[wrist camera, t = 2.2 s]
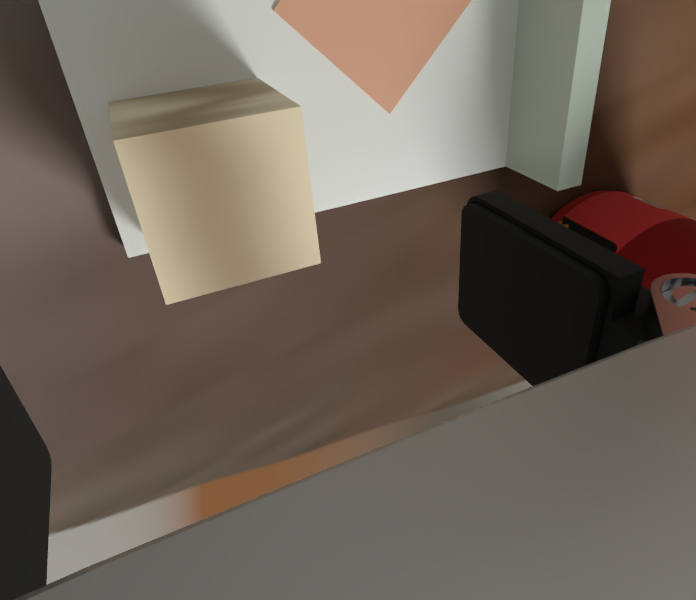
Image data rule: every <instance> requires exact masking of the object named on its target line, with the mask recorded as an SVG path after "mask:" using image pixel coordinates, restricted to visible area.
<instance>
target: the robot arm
mask: <svg viewBox="0 0 696 600" xmlns="http://www.w3.org/2000/svg"><path fill="white" fill-rule="evenodd" d="M644 273H645V268H643V267H641V266H639V265H637V264H635V263H633V262H631V261H630V260H628V259H626V258H624V257H622V256H620V255H618V254H616V253H614V252H612V251H611V250H609V249H607V248H605V247H603V246H601V245H599V244H597V243H595V242H594V241H592V240H590V239H588V238H586V237H584V236H582V235H580V234H578V233H576V232H575V231H573V230H571V229H569V228H567V227H565V226H563V225H561V224H559V223H558V222H556V221H554V220H552V219H550V218H548V217H546V216H544V215H542V214H540V213H539V212H537V211H535V210H533V209H531V208H529V207H527V206H525V205H523V204H522V203H520V202H518V201H516V200H514V199H512V198H510V197H508V196H506V195H504V194H503V193H501V192H498V191H492V192H489V193H485V194H481V195H478V196H474V197H471V198H470V199H469V201H468V203H467V205H466V206H465V207H464V208H463V210H462V220H461V247H460V274H459V301H458V311H459V315H460V317H461V319H462V321H463V322H464V324H465V325H466V326H468V327H469V328H470V329H471V330H472V331H473V332H474V333H475V334H476V335H477V336H478V337H480V338H481V339H482V340H483V341H484V342H485V343H486V344H487V345H488V346H489V347H491V348H492V349H493V350H494V351H495V352H496V353H497V354H498V355H499V356H500V357H501V358H503V359H504V360H505V361H506V362H507V363H508V364H509V365H510V366H511V367H512V368H514V369H515V370H516V371H517V372H518V373H519V374H520V375H521V376H522V377H523V378H524V379H526V380H527V381H528V382H529V383H530V384H531V385H532V386H533V387H530V388H528V389H525V390H523V391H520V392H517V393H515V394H512V395H510V396H507V397H505V398H502V399H500V400H497V401H495V402H492V403H490V404H487V405H485V406H482V407H480V408H477V409H475V410H472V411H470V412H467V413H465V414H462V415H460V416H457V417H455V418H452V419H450V420H447V421H445V422H442V423H440V424H437V425H435V426H432V427H430V428H427V429H425V430H423V431H420V432H417V433H415V434H412V435H410V436H407V437H405V438H402V439H400V440H398V441H395V442H393V443H390V444H388V445H385V446H383V447H380V448H378V449H375V450H373V451H370V452H368V453H365V454H363V455H360V456H358V457H355V458H353V459H351V460H348V461H346V462H343V463H340V464H338V465H336V466H333V467H331V468H328V469H326V470H323V471H321V472H318V473H316V474H313V475H311V476H308V477H307V478H304V479H301V480H299V481H296V482H294V483H291V484H289V485H286V486H284V487H282V488H279V489H277V490H274V491H272V492H269V493H267V494H264V495H262V496H259V497H257V498H255V499H252V500H250V501H247V502H245V503H242V504H240V505H237V506H235V507H233V508H230V509H228V510H225V511H223V512H221V513H218V514H215V515H213V516H211V517H208V518H206V519H203V520H201V521H199V522H196V523H194V524H191V525H189V526H186V527H184V528H181V529H179V530H176V531H174V532H172V533H169V534H167V535H164V536H162V537H159V538H157V539H154V540H152V541H150V542H147V543H145V544H142V545H140V546H137V547H135V548H133V549H130V550H128V551H125V552H123V553H121V554H118V555H116V556H113V557H111V558H108V559H106V560H104V561H101V562H99V563H96V564H94V565H91V566H89V567H86V568H84V569H82V570H79V571H78V572H75V573H73V574H70V575H69V576H66V577H64V578H61V579H59V580H57V581H55V582H52V583H50V584H48V585H46V579H47V557H48V556H47V555H48V534H49V512H50V490H51V458H50V454H49V451H48V449H47V447H46V445H45V443H44V441H43V440H42V438H41V436H40V434H39V433H38V431H37V429H36V427H35V426H34V424H33V422H32V420H31V419H30V417H29V415H28V413H27V412H26V410H25V408H24V406H23V405H22V403H21V401H20V399H19V398H18V396H17V394H16V392H15V391H14V389H13V387H12V385H11V384H10V382H9V380H8V378H7V377H6V375H5V373H4V371H3V370H2V368H1V366H0V600H696V274H689V273H673V274H668V275H663V276H661V277H659V278H656V279H655V280H654V281H653V282H652V283H651V286H650V289H647V288H645V287H643V286H642V281H643V277H644Z"/></svg>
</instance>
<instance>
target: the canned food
mask: <svg viewBox="0 0 696 600" xmlns="http://www.w3.org/2000/svg"><path fill="white" fill-rule="evenodd" d="M551 219H552V220H554V221H556V222H558V223H559V224H561V225H563V226H565V227H567V228H569V229H571V230H573V231H575V232H576V233H578V234H580V235H582V236H584V237H586V238H588V239H590V240H592V241H594V242H595V243H597V244H599V245H601V246H603V247H605V248H607V249H609V250H611V251H612V252H614V253H616V254H618V255H620V256H622V257H624V258H626V259H628V260H630V261H631V262H633V263H635V264H637V265H639V266H641V267H643V268H645V273H644V277H643V281H642V286H643V287H645V288H647V289H650V286H651V283H652V282H653V281H654V280H655V279H656V278H659V277H661V276H663V275H668V274H673V273H689V274H696V221H695V220H692V219H690V218H687V217H685V216H682V215H680V214H678V213H675V212H673V211H670V210H668V209H665V208H663V207H661V206H658V205H656V204H653V203H651V202H648V201H646V200H644V199H641V198H639V197H636V196H634V195H631V194H629V193H626V192H619V191H604V190H601V191H594V192H590V193H587V194H584V195H582V196H579V197H578V198H576V199H574V200H572V201H571V202H569V203H567V204H566V205H565V206H564V207H562V208H561V209H560V210H559V211H557V212H556V214H555V215H554V216H553V217H552V218H551Z"/></svg>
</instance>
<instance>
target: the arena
mask: <svg viewBox="0 0 696 600" xmlns="http://www.w3.org/2000/svg"><path fill="white" fill-rule="evenodd" d="M38 1H39V4H40V7H41V10H42V13H43V16H44V19H45V21H46V24H47V27H48V30H49V33H50V36H51V39H52V41H53V44H54V47H55V50H56V53H57V56H58V59H59V61H60V64H61V67H62V70H63V73H64V76H65V79H66V81H67V84H68V87H69V90H70V93H71V96H72V99H73V101H74V104H75V107H76V110H77V113H78V116H79V119H80V121H81V124H82V127H83V130H84V133H85V136H86V139H87V141H88V144H89V147H90V150H91V153H92V156H93V159H94V161H95V164H96V167H97V170H98V173H99V176H100V179H101V181H102V184H103V187H104V190H105V193H106V196H107V199H108V201H109V204H110V207H111V210H112V213H113V216H114V219H115V221H116V224H117V227H118V230H119V233H120V236H121V239H122V241H123V244H124V247H125V250H126V253H127V256H128V258H130V257H134V256H138V255H142V254H146V253H149V250H148V247H147V244H146V241H145V238H144V235H143V232H142V229H141V226H140V222H139V219H138V216H137V213H136V210H135V207H134V204H133V201H132V198H131V195H130V192H129V188H128V185H127V182H126V179H125V176H124V173H123V170H122V167H121V164H120V161H119V158H118V154H117V151H116V148H115V145H114V142H113V136H112V128H111V120H110V112H109V104H108V102H112V101H118V100H124V99H130V98H136V97H142V96H148V95H154V94H161V93H167V92H173V91H179V90H185V89H191V88H197V87H203V86H209V85H215V84H221V83H227V82H233V81H239V80H245V79H251V78H259V79H260V80H262V81H263V82H265V83H266V84H268V85H269V86H271V87H272V88H274V89H275V90H277V91H279V92H280V93H282V94H283V95H285V96H286V97H288V98H289V99H291V100H292V101H294V102H295V103H297V104H298V105H300V106H301V110H302V118H303V126H304V134H305V142H306V150H307V157H308V165H309V173H310V181H311V189H312V197H313V205H314V212H320V211H324V210H328V209H332V208H336V207H340V206H344V205H348V204H353V203H357V202H361V201H365V200H369V199H373V198H377V197H381V196H386V195H390V194H394V193H398V192H402V191H406V190H410V189H414V188H419V187H423V186H427V185H431V184H435V183H439V182H443V181H448V180H452V179H456V178H460V177H464V176H468V175H472V174H476V173H481V172H485V171H489V170H493V169H497V168H501V167H505V166H506V167H508V168H510V169H512V170H514V171H516V172H518V173H521V174H523V175H525V176H527V177H529V178H531V179H533V180H535V181H537V182H539V183H541V184H544V185H546V186H548V187H550V188H552V189H554V190H556V191H560V190H564V189H567V188H571V187H575V186H579V185H581V183H582V177H583V170H584V164H585V158H586V152H587V146H588V139H589V133H590V127H591V121H592V115H593V108H594V102H595V96H596V90H597V84H598V77H599V71H600V65H601V59H602V53H603V46H604V40H605V34H606V28H607V22H608V15H609V9H610V3H611V0H38Z"/></svg>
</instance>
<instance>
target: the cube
mask: <svg viewBox="0 0 696 600" xmlns="http://www.w3.org/2000/svg"><path fill="white" fill-rule="evenodd" d="M108 104H109V112H110V120H111V128H112V136H113V142H114V145H115V148H116V151H117V154H118V158H119V161H120V164H121V167H122V170H123V173H124V176H125V179H126V182H127V185H128V188H129V192H130V195H131V198H132V201H133V204H134V207H135V210H136V213H137V216H138V219H139V222H140V226H141V229H142V232H143V235H144V238H145V241H146V244H147V247H148V250H149V253H150V256H151V260H152V263H153V266H154V269H155V272H156V275H157V278H158V281H159V284H160V287H161V290H162V294H163V297H164V300H165V303H166V305H168V304H171V303H175V302H179V301H182V300H186V299H190V298H194V297H197V296H201V295H205V294H208V293H212V292H216V291H220V290H223V289H227V288H231V287H234V286H238V285H242V284H245V283H249V282H253V281H257V280H260V279H264V278H268V277H271V276H275V275H279V274H282V273H286V272H290V271H294V270H297V269H301V268H305V267H308V266H312V265H316V264H320V263H321V260H320V252H319V244H318V236H317V228H316V220H315V212H314V205H313V197H312V189H311V181H310V173H309V165H308V157H307V150H306V142H305V134H304V126H303V118H302V110H301V106H300V105H298V104H297V103H295V102H294V101H292V100H291V99H289V98H288V97H286V96H285V95H283V94H282V93H280V92H279V91H277V90H275V89H274V88H272V87H271V86H269V85H268V84H266V83H265V82H263V81H262V80H260V79H259V78H251V79H245V80H239V81H233V82H227V83H221V84H215V85H209V86H203V87H197V88H191V89H185V90H179V91H173V92H167V93H161V94H154V95H148V96H142V97H136V98H130V99H124V100H118V101H112V102H108Z"/></svg>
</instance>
